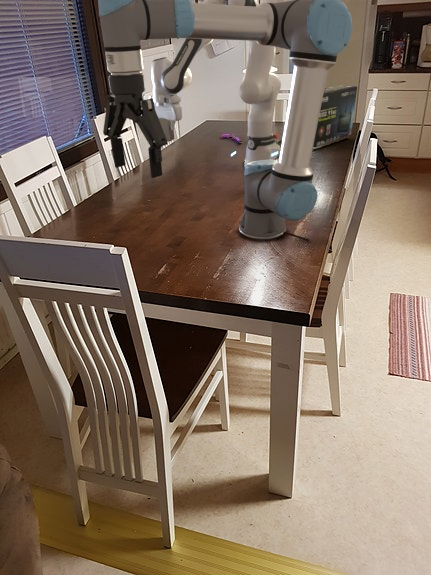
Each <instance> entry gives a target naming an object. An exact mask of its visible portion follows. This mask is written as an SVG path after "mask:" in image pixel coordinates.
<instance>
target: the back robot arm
mask: <svg viewBox="0 0 431 575" xmlns="http://www.w3.org/2000/svg"><path fill="white" fill-rule="evenodd" d="M202 3H204V4H220V5H236V6H252V7H259V6H260V5H261V4H262V3H259V0H203V2H202ZM213 41H214V39H193V38H185V40H184V41H183V43H182V45H181V46H180V49H179V50H178V52H177V54H176V56H175V58H174V60H171V59H170V58H169V57H166V56H163V57H159V58H156V59H153V60H152V61H151V64H150V77H151V78H150V79H151V83H152V95H150V96H148V99H153V101H154V106H155V111H156V113H157V116H158V117H160V118H166V119H167V120H170V123H171V125H170V126H169V129H170V130H175V125H176V122H178V121H181V120H182V119H183V108H182V105H181V103H180V102H182V98H181V96H179V95H177V94H178V93H180V92H181V91H183V90H185V89H186V88H188V87H189V86H190V85H192V82H193V72H192V71H191V69H190V68H189V67H190V65H191V64H192V62H193V60H194V59H195V56H196V55H197V54H198V53H199V52H200V51H202V49H204V48H205V47H207V46H208V45H210V44H211V43H212V42H213ZM275 56H276V47H275V46H268V45H259V44H258V43H257V41H250V40H247V62H246V67H245V72H244V76H243V79H242V82H241V83H240V85H239V88H238V92H239V94H238V95H239V97H240V99H241V101H242V102H243V103H245V104H248V105H251V107H250V111H249V113H248V114H247V134H246V148H245V156H244V157H245V158H244V161H245V162H244V161H243V163H244V165H243V167H244V168H245V166H246V165H247V164H248V163H250V162H253V161H259V160H279V156H280V150H281V145H279V143H277V144H276V140H279V136H280V135H279V134H277V133H273V130H274V129H273V125H274V113H275V108H276V104H277V100H278V95H279V92H280V91H281V87H282V81H281V79H280V77H279V75H277V74H275V73H273V72H271V69H272V65H273V62H274V61H275ZM275 139H276V140H275ZM235 154H237V151H234V152H232V153H231V154H230V157H233V156H234V155H235Z"/></svg>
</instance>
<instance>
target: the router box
mask: <svg viewBox="0 0 431 575" xmlns="http://www.w3.org/2000/svg"><path fill="white" fill-rule="evenodd" d="M357 93H358V86H356V85H350V84H339V85H338V84H337V85H334V86H328V87H325V88H324V94H323V99H322V104H321V109H320V114H319V119H318V124H317V130H316V135H315V140H314V145H313V147H317V146H320V145H323V144H325V143H328V142H331V141H333V140H336V139H338V138H341V137H344V136H347V135H351V136H352V133H353V132H352V131H353V125H354V115H355V109H356V99H357Z"/></svg>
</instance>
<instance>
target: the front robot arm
mask: <svg viewBox="0 0 431 575" xmlns="http://www.w3.org/2000/svg"><path fill="white" fill-rule="evenodd" d="M97 2H98V3H97V4H98V6H97V7H98V17H99V20H100V27H101V33H102V34H101V35H102V41H103V46H104V53H105V60H106V68H107V72H108V73H110V74H109V76H108V77H107V78H108V84H109V90H110V91H109V92H110V93H111V94H109V95H106V96H105V97H106V98H105V100H106V108H105V109H106V110H105V116H104V122H103V130H102V133H103V135H104V136H107V137H108V139H109V142H110V145H111V151H112V155H113V163H114V168H115V169H118V168H121V167H124V166H126V157H125V149H124V143H123V138H122V131H123V128H124V126H125V125H126V121H127V119H129V120H130V121H133V123H134V124H137V126H138V128H139V129H140V131H141V133H142V134H143V136H144V138H145V140H146V141H147V143H148V145H149V147H148V149H147V150H148V159H149V168H150V177H151V179H155V178H157V177H161V176H163V167H162V166H163V165H162V162H163V154H162V147H164V146H167V145H168V143H169V141H167V139H166V136H165V134H164V131H163V129H162V126H161V124H160V121H159V118H158V116H157V113H156V111H155V106H154V101H153V99H149V98H148V99H144V97H143V93H144V92H145V91H146V84H145V75H144V74H143V72H142V71H143V70H144V63H143V54H142V45H141V41H147V40H167V39H169V40H171V39H177V40H179V39H186V38H193V39H213V40H221V41H223V40H224V41H248V40H250V41H257V43H258V44H259V45H268V46H275V48H280V49H284V50H289V52H290V53H289V60H290V63H292V65H293V72H292V77H291V84H290V89H289V95H288V101H287V108H286V113H285V120H284V125H283V133H282V138H281V139H282V140H281V144H280V147H281V150H280V156H279V160H259V161H253V162H250V163H248V164H247V165H246V166H245V167H244V172H243V173H244V174H243V177H244V179H243V180H244V211H243V213H242V216H241V220H240V221H239V224H238V225H239V226H238V232H239V235H240V236H241V237H242V238H244V239H247V240H250V241H254V242H271V241H277V240H279V239H281V238H283V237H285V235H287V236H289V237H294V238H296V239H300V240H303V241H306V242H309V238H307V237H305V236H301V235H299V234H295V233H291V232H288V231H287V223H286V221H285V220H287V221H291V222H292V221H294V222H295V221H298V220H299V221H300V220H302V219H303V218H305V217H306V216H307V215H308V214H310V213H311V212H313V210H314V208H315V206H316V204H317V201H318V190H317V189H316V186H315V185H314V184H313V178H314V173H315V172H314V170H313V169H312V167H311V160H312V155H313V151H314V150H313V145H314V140H315V135H316V130H317V124H318V119H319V114H320V109H321V104H322V99H323V94H324V88H326V84H327V83H326V82H327V77H328V73H329V70H330V69H331V68H332V67H333V66H335V65H336V64H337V59H338V54H339V53H341V52H343V50H345V47H347V46H348V45H349V42H350V40H351V37H352V34H353V17H352V14H351V12H350V10H349V8H348V6H347V5H346V4H345V2H344V1H342V0H287V1H279V2H262V3H260V4H261V5H260V6H259V7H252V6H236V5H220V4H204V3H203V2H192V1H191V0H97ZM160 139H161V140H160Z"/></svg>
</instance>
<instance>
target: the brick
mask: <svg viewBox="0 0 431 575" xmlns="http://www.w3.org/2000/svg"><path fill="white" fill-rule="evenodd" d="M158 118H159V121H160V124H161V126H162V129H163V131H164V134H165V136H166V139H167V142H168V143H169V142H172V141H173V140H175V131H174V130H175V129H174V130H170V129H169V126H170V125H171V123H170V120H167V119H166V118H160V117H158ZM160 140H161V139H160Z"/></svg>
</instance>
